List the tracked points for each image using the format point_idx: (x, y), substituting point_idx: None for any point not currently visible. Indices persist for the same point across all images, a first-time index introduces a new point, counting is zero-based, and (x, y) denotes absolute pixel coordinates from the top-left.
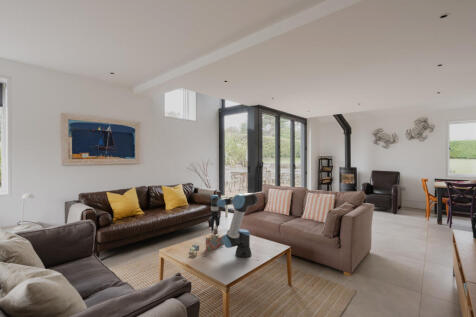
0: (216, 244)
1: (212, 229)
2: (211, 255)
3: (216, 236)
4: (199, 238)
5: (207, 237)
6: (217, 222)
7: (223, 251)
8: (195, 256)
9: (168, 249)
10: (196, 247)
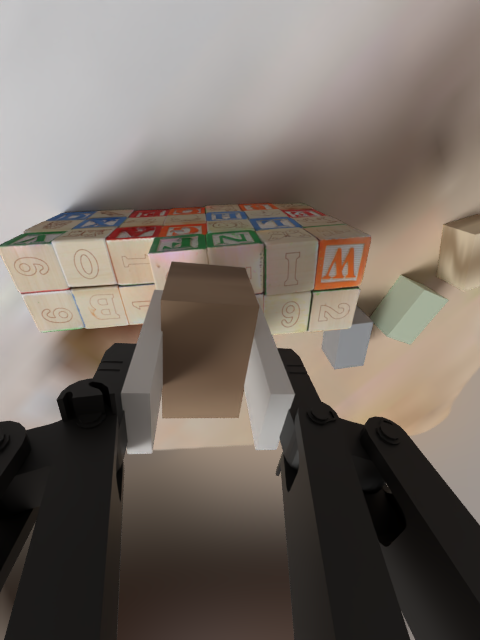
0: (206, 213)
1: (299, 369)
2: (402, 89)
3: (208, 245)
4: (168, 442)
5: (345, 309)
6: (37, 606)
7: (231, 26)
8: (476, 215)
9: (409, 424)
10: (368, 319)
